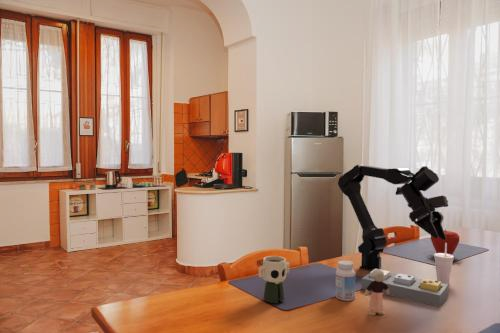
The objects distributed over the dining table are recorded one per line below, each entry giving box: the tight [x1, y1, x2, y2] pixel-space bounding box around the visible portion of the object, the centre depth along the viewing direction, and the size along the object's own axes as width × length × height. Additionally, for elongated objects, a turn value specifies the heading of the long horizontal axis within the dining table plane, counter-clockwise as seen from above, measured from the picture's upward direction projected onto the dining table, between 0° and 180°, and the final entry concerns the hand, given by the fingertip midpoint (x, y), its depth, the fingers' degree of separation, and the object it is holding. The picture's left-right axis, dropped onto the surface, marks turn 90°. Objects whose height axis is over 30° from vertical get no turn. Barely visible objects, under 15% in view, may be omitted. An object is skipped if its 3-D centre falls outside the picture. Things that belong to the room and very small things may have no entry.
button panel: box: [361, 272, 449, 307], centre depth 129 cm, size 24×12×4 cm, turn 52°
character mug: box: [258, 255, 290, 304], centre depth 120 cm, size 11×7×13 cm, turn 118°
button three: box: [420, 278, 441, 292], centre depth 124 cm, size 5×5×3 cm
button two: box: [394, 273, 416, 286], centre depth 129 cm, size 5×5×3 cm
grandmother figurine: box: [363, 269, 390, 316], centre depth 112 cm, size 8×4×13 cm, turn 114°
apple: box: [430, 229, 460, 255], centre depth 172 cm, size 11×11×12 cm
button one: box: [369, 268, 391, 280], centre depth 134 cm, size 5×5×3 cm
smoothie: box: [433, 243, 455, 284], centre depth 138 cm, size 6×6×14 cm
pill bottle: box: [335, 260, 356, 302], centre depth 123 cm, size 6×6×11 cm
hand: (441, 238), depth 130 cm, fingers open, 9 cm apart
